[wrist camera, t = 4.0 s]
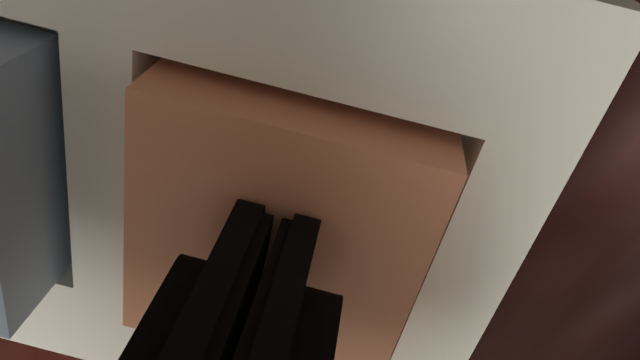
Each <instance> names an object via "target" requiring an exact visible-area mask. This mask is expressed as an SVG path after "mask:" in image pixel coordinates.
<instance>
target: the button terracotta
mask: <svg viewBox="0 0 640 360" xmlns="http://www.w3.org/2000/svg"><path fill="white" fill-rule="evenodd" d="M467 177H468V174H467V168H466V162H465V157H464V151H463V145H462V139H461V134H459V133H455V132H452V131H448V130H444V129H440V128H436V127H432V126H428V125H424V124H420V123H416V122H412V121H408V120H405V119H401V118H397V117H393V116H389V115H385V114H381V113H377V112H373V111H369V110H365V109H361V108H358V107H354V106H350V105H346V104H342V103H338V102H334V101H330V100H326V99H322V98H318V97H314V96H311V95H307V94H303V93H299V92H295V91H291V90H287V89H283V88H279V87H275V86H271V85H267V84H264V83H260V82H256V81H252V80H248V79H244V78H240V77H236V76H232V75H228V74H224V73H220V72H217V71H213V70H209V69H205V68H201V67H197V66H193V65H189V64H185V63H181V62H177V61H173V60H170V59H166V58H161V59H159V60H158V61H157V62H156V63H155V64H154V65H152V66H151V67H150V68H149V69H148V70H146V71H145V72H144V73H143V74H142V75H140V76H139V77H138V78H137V79H136V80H134V81H133V82H132V83H131V84H130V85H128V86H127V87H126V88H125V150H124V250H123V326H127V327H131V328H135V329H136V328H137V326H138V324H139V322H140V321H141V319H142V317H143V315H144V314H145V312H146V310H147V308H148V307H149V305H150V303H151V301H152V300H153V298H154V296H155V294H156V293H157V291H158V289H159V288H160V286H161V284H162V282H163V281H164V279H165V277H166V275H167V274H168V272H169V270H170V268H171V267H172V265H173V263H174V261H175V260H176V259H177V257H178V256H179V255H180V254H185V255H188V256H192V257H196V258H200V259H204V260H207V259H208V257H209V255H210V253H211V251H212V249H213V247H214V245H215V243H216V241H217V239H218V237H219V235H220V233H221V231H222V229H223V227H224V225H225V223H226V221H227V219H228V217H229V215H230V213H231V211H232V209H233V207H234V205H235V203H236V201H237V199H242V200H246V201H250V202H254V203H258V204H262V205H265V206H266V207H265V213H267V214H271V215H274V220H273V225H272V230H271V235H270V240H269V245H268V250H267V255H266V260H265V265H266V262H267V259H268V257H269V254H270V251H271V248H272V245H273V242H274V240H275V237H276V234H277V231H278V228H279V225H280V222H281V220H282V218H286V219H290V220H293V217H294V214H295V213H297V214H301V215H304V216H308V217H312V218H316V219H320V220H321V225H320V229H319V233H318V237H317V241H316V245H315V249H314V254H313V258H312V262H311V266H310V270H309V274H308V278H307V283H306V286H308V287H312V288H316V289H319V290H323V291H327V292H331V293H335V294H339V295H343V305H342V312H341V318H340V325H339V332H338V338H337V345H336V352H335V358H334V360H389V359H390V357H391V354H392V352H393V350H394V347H395V345H396V343H397V340H398V338H399V336H400V333H401V331H402V329H403V326H404V324H405V322H406V319H407V317H408V315H409V312H410V310H411V308H412V305H413V303H414V301H415V298H416V296H417V294H418V291H419V289H420V287H421V284H422V282H423V280H424V277H425V275H426V273H427V270H428V268H429V266H430V263H431V261H432V259H433V256H434V254H435V252H436V249H437V247H438V245H439V242H440V240H441V238H442V235H443V233H444V231H445V228H446V226H447V224H448V221H449V219H450V217H451V214H452V212H453V210H454V207H455V205H456V203H457V200H458V198H459V196H460V193H461V191H462V189H463V186H464V184H465V182H466V179H467ZM265 265H264V268H265ZM263 271H264V269H263Z"/></svg>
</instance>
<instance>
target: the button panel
mask: <svg viewBox="0 0 640 360" xmlns="http://www.w3.org/2000/svg"><path fill="white" fill-rule="evenodd" d="M0 20H2V21H6V22H10V23H14V24H18V25H22V26H26V27H30V28H34V29H37V30H41V31H45V32H49V33H53V34H57V35H58V39H59V56H60V72H61V89H62V106H63V122H64V139H65V156H66V172H67V189H68V205H69V222H70V239H71V255H72V264H71V265H70V266H69V268H68V269H67V270H66V271H65V272H64V274H63V275H62V276H61V277H60V279H59V280H58V281H57V282H56V283H55V285H54V286H53V287H52V288H51V290H50V291H49V292H48V293H47V294H46V296H45V297H44V298H43V299H42V301H41V302H40V303H39V304H38V305H37V307H36V308H35V309H34V310H33V312H32V313H31V314H30V315H29V316H28V318H27V319H26V320H25V321H24V323H23V324H22V325H21V326H20V327H19V329H18V330H17V331H16V332H15V334H14V335H13V336H12V337H11V338H10V339H8V340H11V341H15V342H19V343H23V344H27V345H30V346H34V347H38V348H42V349H46V350H50V351H53V352H57V353H61V354H65V355H69V356H72V357H76V358H80V359H84V360H118V359H119V357H120V355H121V354H122V352H123V350H124V348H125V347H126V345H127V343H128V341H129V340H130V338H131V336H132V334H133V333H134V331H135V328H131V327H127V326H123V250H124V150H125V88H126V87H127V86H128V85H130V84H131V83H132V82H133V81H134V80H136V79H137V78H138V77H139V76H140V75H142V74H143V73H144V72H145V71H146V70H148V69H149V68H150V67H151V66H152V65H154V64H155V63H156V62H157V61H158V60H159V59H161V58H166V59H170V60H173V61H177V62H181V63H185V64H189V65H193V66H197V67H201V68H205V69H209V70H213V71H217V72H220V73H224V74H228V75H232V76H236V77H240V78H244V79H248V80H252V81H256V82H260V83H264V84H267V85H271V86H275V87H279V88H283V89H287V90H291V91H295V92H299V93H303V94H307V95H311V96H314V97H318V98H322V99H326V100H330V101H334V102H338V103H342V104H346V105H350V106H354V107H358V108H361V109H365V110H369V111H373V112H377V113H381V114H385V115H389V116H393V117H397V118H401V119H405V120H408V121H412V122H416V123H420V124H424V125H428V126H432V127H436V128H440V129H444V130H448V131H452V132H455V133H459V134H461V139H462V145H463V151H464V157H465V162H466V168H467V174H468V177H467V179H466V182H465V184H464V186H463V189H462V191H461V193H460V196H459V198H458V200H457V203H456V205H455V207H454V210H453V212H452V214H451V217H450V219H449V221H448V224H447V226H446V228H445V231H444V233H443V235H442V238H441V240H440V242H439V245H438V247H437V249H436V252H435V254H434V256H433V259H432V261H431V263H430V266H429V268H428V270H427V273H426V275H425V277H424V280H423V282H422V284H421V287H420V289H419V291H418V294H417V296H416V298H415V301H414V303H413V305H412V308H411V310H410V312H409V315H408V317H407V319H406V322H405V324H404V326H403V329H402V331H401V333H400V336H399V338H398V340H397V343H396V345H395V347H394V350H393V352H392V354H391V357H390V359H389V360H469V358H470V356H471V354H472V352H473V351H474V349H475V347H476V345H477V343H478V342H479V340H480V338H481V336H482V334H483V333H484V331H485V329H486V327H487V325H488V324H489V322H490V320H491V318H492V316H493V315H494V313H495V311H496V309H497V307H498V305H499V304H500V302H501V300H502V298H503V296H504V295H505V293H506V291H507V289H508V287H509V286H510V284H511V282H512V280H513V278H514V277H515V275H516V273H517V271H518V269H519V268H520V266H521V264H522V262H523V260H524V259H525V257H526V255H527V253H528V251H529V249H530V248H531V246H532V244H533V242H534V240H535V239H536V237H537V235H538V233H539V231H540V230H541V228H542V226H543V224H544V222H545V221H546V219H547V217H548V215H549V213H550V212H551V210H552V208H553V206H554V204H555V203H556V201H557V199H558V197H559V195H560V194H561V192H562V190H563V188H564V186H565V184H566V183H567V181H568V179H569V177H570V175H571V174H572V172H573V170H574V168H575V166H576V165H577V163H578V161H579V159H580V157H581V156H582V154H583V152H584V150H585V148H586V147H587V145H588V143H589V141H590V139H591V138H592V136H593V134H594V132H595V130H596V128H597V127H598V125H599V123H600V121H601V119H602V118H603V116H604V114H605V112H606V110H607V109H608V107H609V105H610V103H611V101H612V100H613V98H614V96H615V94H616V92H617V91H618V89H619V87H620V85H621V83H622V82H623V80H624V78H625V76H626V74H627V72H628V71H629V69H630V67H631V65H632V63H633V62H634V60H635V58H636V56H637V54H638V53H639V51H640V3H638V2H637V1H635V0H0ZM0 338H3V337H0ZM4 339H7V338H4Z"/></svg>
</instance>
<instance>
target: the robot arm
mask: <svg viewBox="0 0 640 360" xmlns="http://www.w3.org/2000/svg"><path fill="white" fill-rule="evenodd" d="M265 207H266V206H265V205H262V204H258V203H254V202H250V201H246V200H242V199H237V201H236V203H235V205H234V207H233V209H232V211H231V213H230V215H229V217H228V219H227V221H226V223H225V225H224V227H223V229H222V231H221V233H220V235H219V237H218V239H217V241H216V243H215V245H214V247H213V249H212V251H211V253H210V255H209V257H208V259H207V260H204V259H200V258H196V257H192V256H188V255H185V254H180V255H179V256H178V257H177V259H176V260H175V261H174V263H173V265H172V267H171V268H170V270H169V272H168V274H167V275H166V277H165V279H164V281H163V282H162V284H161V286H160V288H159V289H158V291H157V293H156V294H155V296H154V298H153V300H152V301H151V303H150V305H149V307H148V308H147V310H146V312H145V314H144V315H143V317H142V319H141V321H140V322H139V324H138V326H137V328H136V329H135V331H134V333H133V334H132V336H131V338H130V340H129V341H128V343H127V345H126V347H125V348H124V350H123V352H122V354H121V355H120V357H119V359H118V360H334V358H335V352H336V345H337V338H338V332H339V325H340V318H341V312H342V305H343V295H339V294H335V293H331V292H327V291H323V290H319V289H316V288H312V287H308V286H306V283H307V278H308V274H309V270H310V266H311V262H312V258H313V254H314V249H315V245H316V241H317V237H318V233H319V229H320V225H321V220H320V219H316V218H312V217H308V216H304V215H301V214H297V213H295V214H294V217H293V220H290V219H286V218H282V220H281V222H280V225H279V228H278V231H277V234H276V237H275V240H274V242H273V245H272V248H271V251H270V254H269V257H268V259H267V262H266V265H265V260H266V255H267V250H268V245H269V240H270V235H271V230H272V225H273V220H274V215H271V214H267V213H265ZM264 265H265V268H264ZM263 269H264V271H263Z"/></svg>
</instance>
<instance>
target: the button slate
mask: <svg viewBox="0 0 640 360" xmlns="http://www.w3.org/2000/svg"><path fill="white" fill-rule="evenodd" d="M71 264H72V255H71V239H70V222H69V205H68V189H67V172H66V156H65V139H64V122H63V106H62V89H61V72H60V56H59V39H58V35H57V34H53V33H49V32H45V31H41V30H37V29H34V28H30V27H26V26H22V25H18V24H14V23H10V22H6V21H2V20H0V337H3V338H7V339H10V338H11V337H12V336H13V335H14V334H15V332H16V331H17V330H18V329H19V327H20V326H21V325H22V324H23V323H24V321H25V320H26V319H27V318H28V316H29V315H30V314H31V313H32V312H33V310H34V309H35V308H36V307H37V305H38V304H39V303H40V302H41V301H42V299H43V298H44V297H45V296H46V294H47V293H48V292H49V291H50V290H51V288H52V287H53V286H54V285H55V283H56V282H57V281H58V280H59V279H60V277H61V276H62V275H63V274H64V272H65V271H66V270H67V269H68V268H69V266H70V265H71Z"/></svg>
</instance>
